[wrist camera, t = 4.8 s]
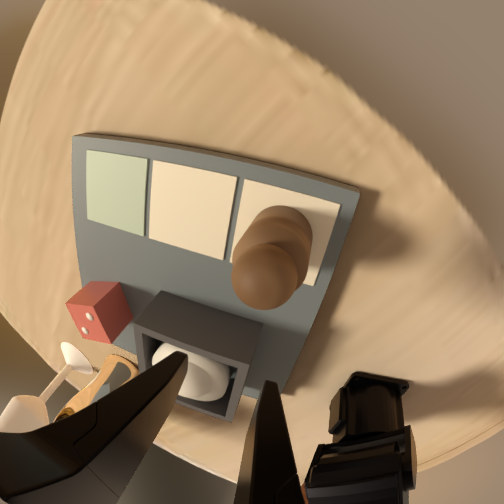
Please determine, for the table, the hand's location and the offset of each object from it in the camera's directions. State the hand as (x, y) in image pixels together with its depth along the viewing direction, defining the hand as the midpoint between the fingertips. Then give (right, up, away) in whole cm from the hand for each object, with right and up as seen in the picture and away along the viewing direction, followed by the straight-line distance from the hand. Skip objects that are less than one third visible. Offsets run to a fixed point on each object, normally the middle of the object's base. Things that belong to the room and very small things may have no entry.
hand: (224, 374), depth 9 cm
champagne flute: (-26, -12, +28) cm, 40 cm away
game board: (-5, +2, +15) cm, 16 cm away
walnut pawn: (+3, +5, +10) cm, 11 cm away
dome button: (-4, -5, +15) cm, 16 cm away
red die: (-13, -1, +17) cm, 21 cm away
